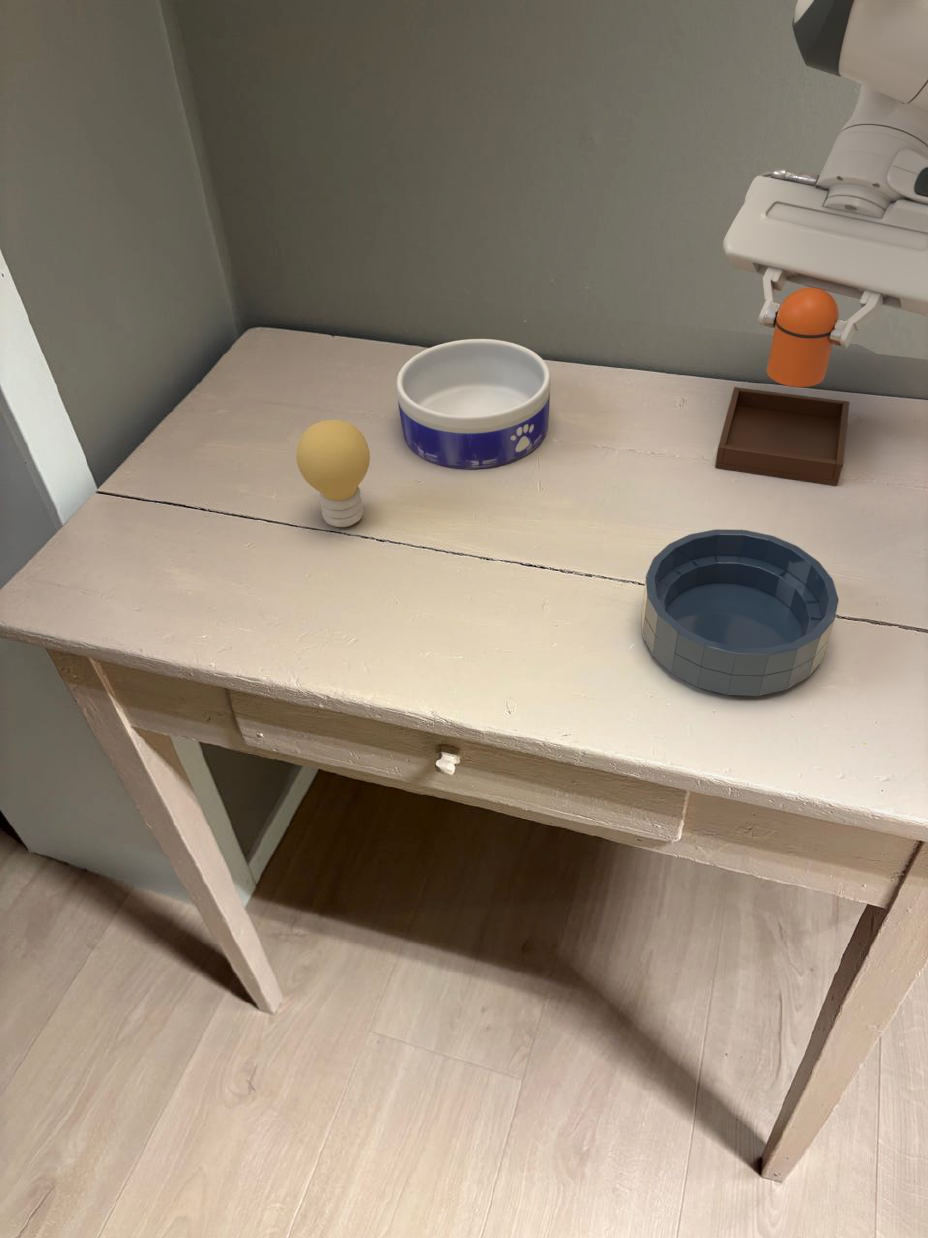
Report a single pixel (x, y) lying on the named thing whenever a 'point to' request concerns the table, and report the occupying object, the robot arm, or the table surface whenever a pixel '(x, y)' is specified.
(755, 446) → the tray
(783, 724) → the table surface
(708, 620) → the glazed bowl
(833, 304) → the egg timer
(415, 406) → the dog bowl
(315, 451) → the light bulb
